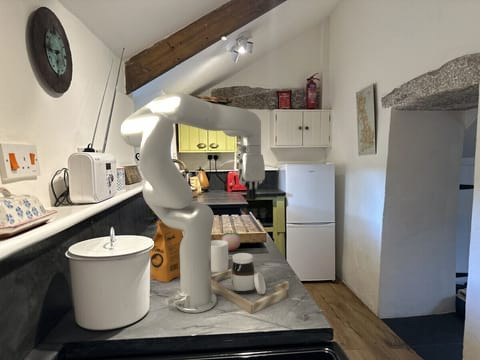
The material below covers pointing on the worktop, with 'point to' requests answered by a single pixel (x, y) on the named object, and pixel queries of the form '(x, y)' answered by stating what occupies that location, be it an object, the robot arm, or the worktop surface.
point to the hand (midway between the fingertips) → (251, 199)
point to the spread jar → (245, 275)
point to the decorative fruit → (232, 240)
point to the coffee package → (166, 253)
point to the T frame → (255, 306)
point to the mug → (219, 256)
